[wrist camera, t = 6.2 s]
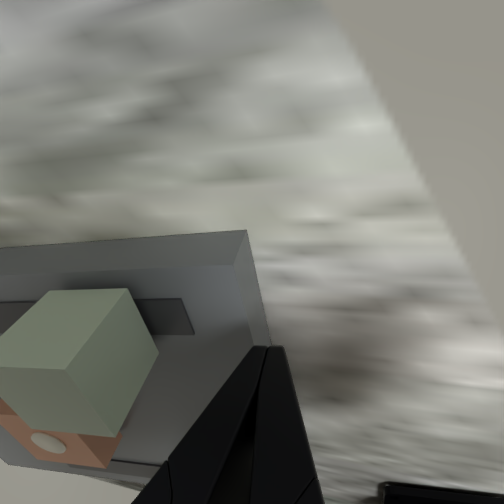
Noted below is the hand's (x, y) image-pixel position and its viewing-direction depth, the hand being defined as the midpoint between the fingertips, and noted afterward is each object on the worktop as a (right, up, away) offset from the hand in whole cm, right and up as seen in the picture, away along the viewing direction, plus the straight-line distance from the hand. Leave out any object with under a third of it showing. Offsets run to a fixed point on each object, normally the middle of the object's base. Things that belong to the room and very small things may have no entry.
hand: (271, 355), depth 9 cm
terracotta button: (-9, -5, +7) cm, 13 cm away
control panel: (-9, -4, +9) cm, 13 cm away
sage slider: (-6, 0, +2) cm, 6 cm away
